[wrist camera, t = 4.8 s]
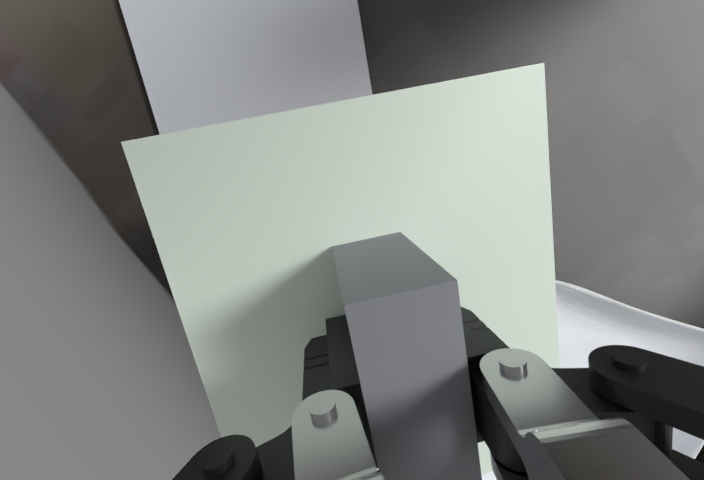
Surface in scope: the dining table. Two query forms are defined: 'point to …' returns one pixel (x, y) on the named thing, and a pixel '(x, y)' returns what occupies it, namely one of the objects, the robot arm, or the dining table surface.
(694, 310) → the dining table surface
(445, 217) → the lid
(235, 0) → the mat
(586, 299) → the salad plate
